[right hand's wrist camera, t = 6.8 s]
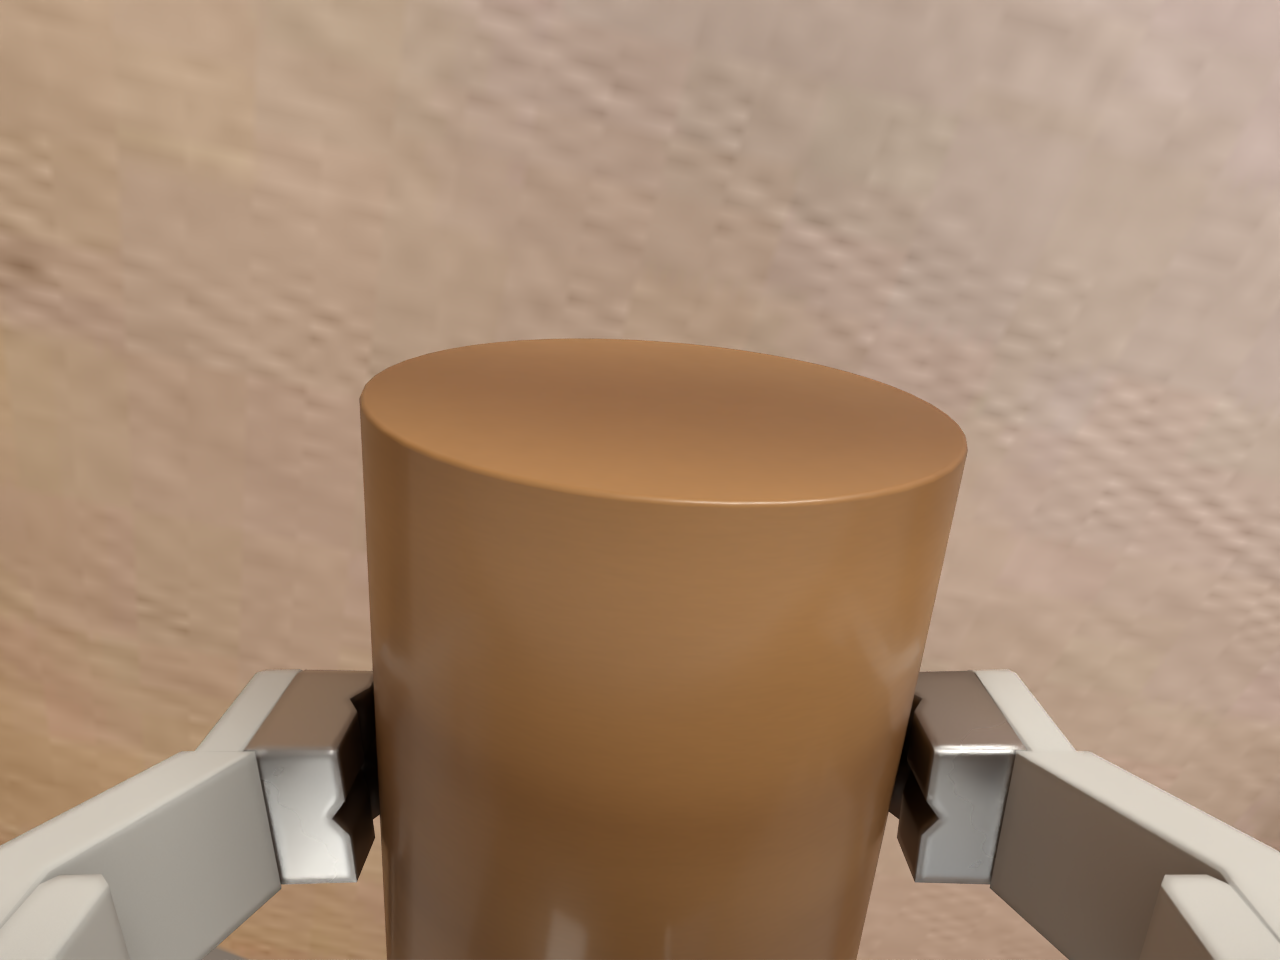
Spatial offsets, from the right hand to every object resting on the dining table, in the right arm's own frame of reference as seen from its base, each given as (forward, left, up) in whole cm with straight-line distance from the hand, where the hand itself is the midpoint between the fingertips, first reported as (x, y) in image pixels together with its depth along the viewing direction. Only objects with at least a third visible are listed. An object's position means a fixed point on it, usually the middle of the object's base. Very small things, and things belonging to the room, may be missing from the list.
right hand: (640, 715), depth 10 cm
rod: (0, +7, -3) cm, 8 cm away
